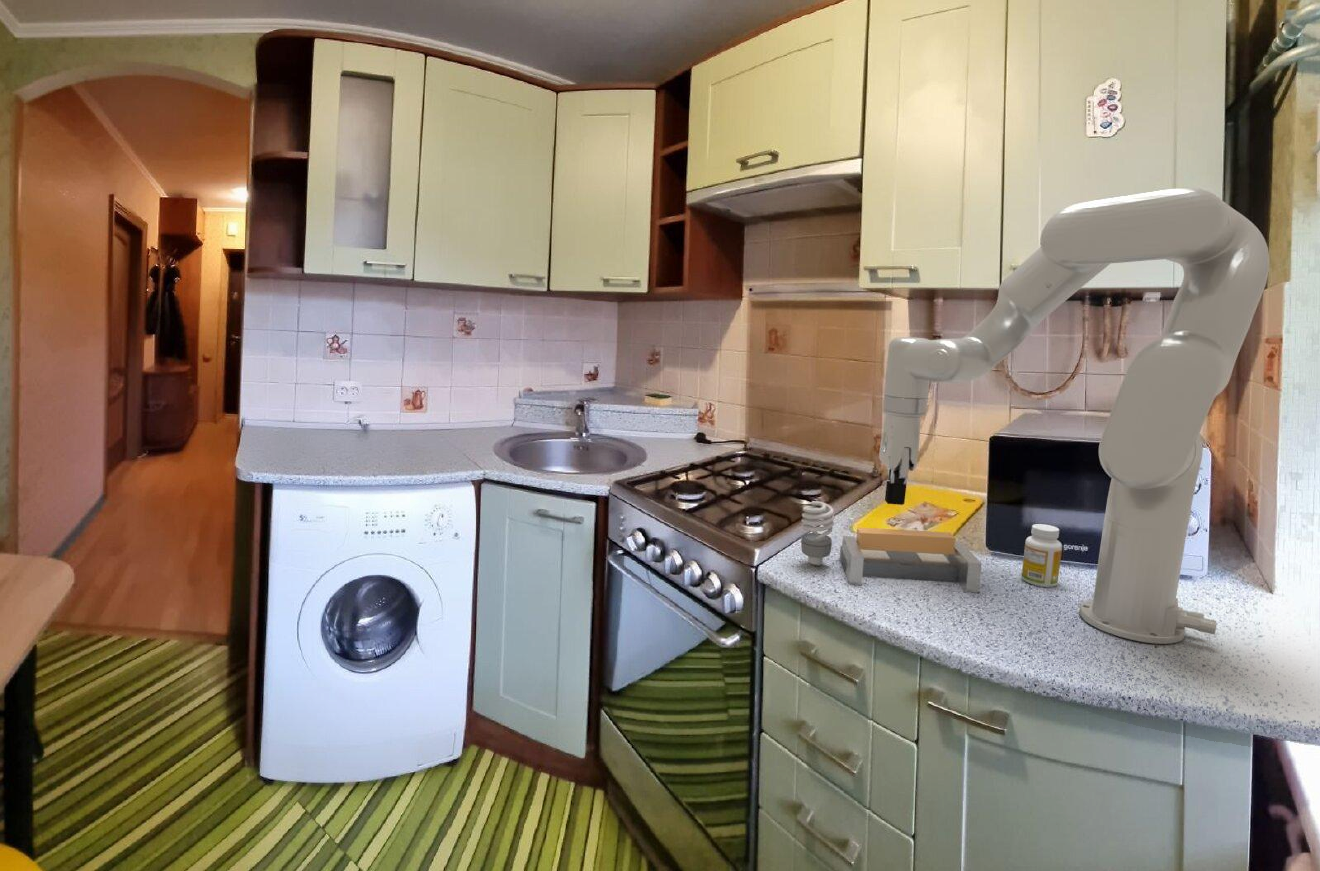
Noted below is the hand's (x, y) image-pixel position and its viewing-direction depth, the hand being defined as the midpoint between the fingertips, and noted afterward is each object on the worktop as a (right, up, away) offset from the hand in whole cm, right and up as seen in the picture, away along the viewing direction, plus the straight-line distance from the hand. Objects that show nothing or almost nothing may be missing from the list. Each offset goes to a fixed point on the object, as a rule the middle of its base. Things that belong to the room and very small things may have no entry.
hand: (894, 502), depth 120 cm
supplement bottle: (+21, -13, -10) cm, 27 cm away
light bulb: (-16, -11, -4) cm, 20 cm away
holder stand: (-1, -12, -8) cm, 14 cm away
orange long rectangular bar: (-1, -8, -6) cm, 10 cm away
